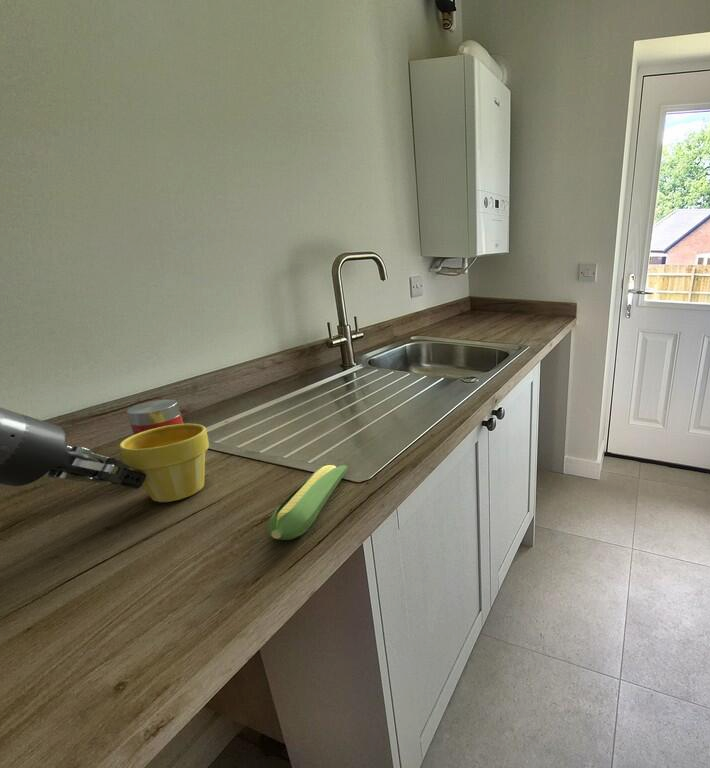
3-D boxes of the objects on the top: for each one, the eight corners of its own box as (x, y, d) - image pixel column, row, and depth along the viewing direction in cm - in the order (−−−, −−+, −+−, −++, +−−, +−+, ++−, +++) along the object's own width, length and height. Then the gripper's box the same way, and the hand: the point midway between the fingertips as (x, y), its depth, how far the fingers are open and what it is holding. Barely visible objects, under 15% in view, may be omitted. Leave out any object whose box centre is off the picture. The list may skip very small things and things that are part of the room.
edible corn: (259, 551, 53) (252, 521, 51) (329, 470, 72) (325, 447, 70) (299, 551, 52) (293, 522, 51) (358, 470, 71) (355, 447, 70)
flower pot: (211, 468, 73) (198, 417, 70) (225, 490, 66) (211, 434, 63) (134, 491, 66) (116, 435, 63) (140, 518, 59) (120, 457, 56)
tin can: (150, 479, 69) (129, 417, 65) (142, 466, 73) (122, 406, 70) (198, 464, 74) (181, 405, 70) (189, 452, 78) (172, 396, 74)
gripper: (56, 415, 45) (189, 460, 60) (-32, 407, 47) (117, 452, 63) (10, 483, 42) (163, 512, 57) (-81, 471, 44) (89, 502, 59)
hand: (139, 481), depth 60 cm, fingers closed
